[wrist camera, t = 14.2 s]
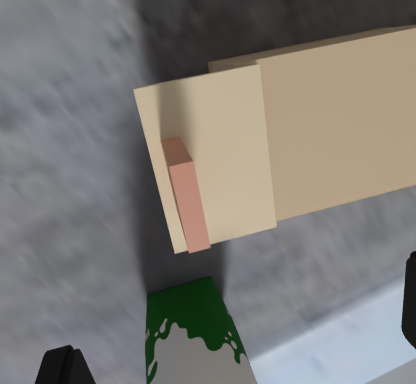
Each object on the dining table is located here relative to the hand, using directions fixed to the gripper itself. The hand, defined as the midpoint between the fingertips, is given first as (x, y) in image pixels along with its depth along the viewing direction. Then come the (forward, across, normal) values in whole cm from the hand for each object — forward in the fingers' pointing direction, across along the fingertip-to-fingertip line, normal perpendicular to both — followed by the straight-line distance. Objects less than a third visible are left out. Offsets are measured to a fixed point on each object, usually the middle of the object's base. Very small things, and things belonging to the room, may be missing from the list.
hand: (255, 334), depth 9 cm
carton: (+24, -12, 0) cm, 26 cm away
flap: (+15, -2, 0) cm, 15 cm away
